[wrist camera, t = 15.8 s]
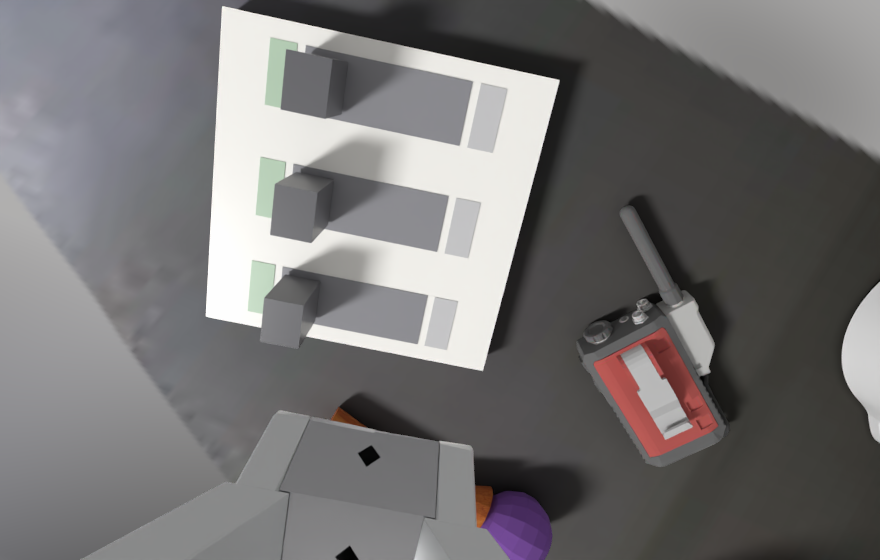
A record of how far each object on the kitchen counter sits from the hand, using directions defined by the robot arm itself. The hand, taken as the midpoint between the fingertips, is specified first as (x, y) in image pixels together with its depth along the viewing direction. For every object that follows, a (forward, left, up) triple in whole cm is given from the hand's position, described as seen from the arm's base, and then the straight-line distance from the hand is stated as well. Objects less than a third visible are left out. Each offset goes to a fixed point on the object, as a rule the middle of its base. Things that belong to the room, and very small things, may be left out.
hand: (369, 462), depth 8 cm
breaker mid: (+7, +3, -27) cm, 28 cm away
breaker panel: (+4, +3, -29) cm, 30 cm away
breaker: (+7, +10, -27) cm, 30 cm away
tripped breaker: (+7, -4, -27) cm, 28 cm away
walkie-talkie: (-17, +9, -30) cm, 35 cm away
